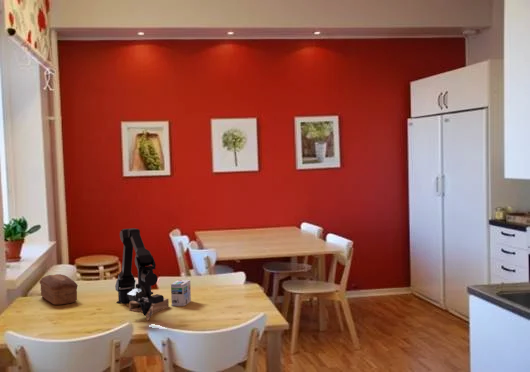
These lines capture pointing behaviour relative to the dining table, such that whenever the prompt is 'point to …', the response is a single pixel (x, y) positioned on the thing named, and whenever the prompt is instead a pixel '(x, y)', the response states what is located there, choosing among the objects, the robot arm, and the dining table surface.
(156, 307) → the brown piece
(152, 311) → the flap
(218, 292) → the dining table surface
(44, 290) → the bread
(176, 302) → the light bulb box
